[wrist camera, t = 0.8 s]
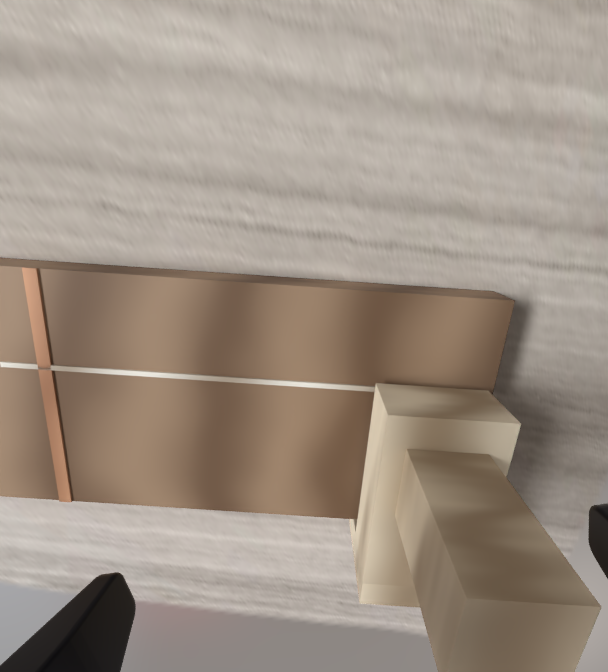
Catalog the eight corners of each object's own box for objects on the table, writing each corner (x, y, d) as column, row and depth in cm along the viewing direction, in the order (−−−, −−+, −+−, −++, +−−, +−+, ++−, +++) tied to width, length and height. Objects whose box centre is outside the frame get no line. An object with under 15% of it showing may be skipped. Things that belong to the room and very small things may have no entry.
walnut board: (493, 291, 18) (516, 301, 16) (447, 498, 22) (461, 527, 20) (-15, 256, 18) (-56, 262, 16) (26, 471, 22) (-3, 497, 20)
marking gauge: (469, 371, 19) (660, 564, 9) (436, 525, 22) (548, 806, 12) (369, 365, 19) (439, 550, 9) (349, 520, 22) (383, 796, 12)
